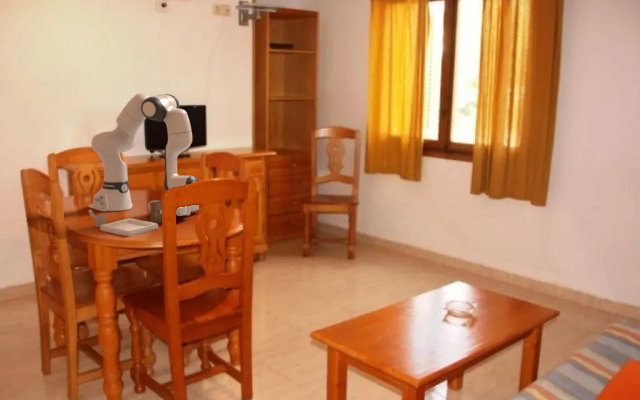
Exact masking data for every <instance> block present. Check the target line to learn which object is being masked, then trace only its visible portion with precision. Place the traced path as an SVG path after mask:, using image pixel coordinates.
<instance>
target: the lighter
mask: <svg viewBox="0 0 640 400" xmlns="http://www.w3.org/2000/svg"><path fill="white" fill-rule="evenodd" d="M87 212H88V213H89V215H90V217H91V218H92V219H93V220H94V219H95V227H96V228H101V227H100V225H103V224H107V217H106V216H105V214H102V213H101V214H97V216H96V215H95V213H94V212H93V210H92V208H90V209H89V210H87Z"/></svg>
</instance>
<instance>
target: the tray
mask: <svg viewBox="0 0 640 400" xmlns="http://www.w3.org/2000/svg"><path fill="white" fill-rule="evenodd" d="M99 228H100V231H101V232H106V233H112V234H116V235H120V236H124V237H129V238H130V237H134V236H137V235H142V234H145V233H148V232H149V233H150V232H152V230H153V231H156V230H159V224H157V223H152V222H150V221H146V220H141V219H134V218H129V217H128V218H125V219H121V220H120V219H119V220H116V221H113V222H112V221H111V222H106V224H103V225H100V227H99ZM155 229H156V230H155Z"/></svg>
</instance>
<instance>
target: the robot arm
mask: <svg viewBox="0 0 640 400" xmlns="http://www.w3.org/2000/svg"><path fill="white" fill-rule="evenodd" d="M146 119H148V120H152V121H156V122H160V123H161V122H164V123H165V124H166V128H167V129H166V130H167V144H166V145H165V147H164V179H163V188H164V190H165V192H166V190H168V189H170V188H173V187H179V186H184V185H187V184H191V183H194V182H198V181H199V180H198V178H197V177H196V176H194V175H179V174H178V157H179V155H180V153H182V152H184V151H187V149H189V148H190V147H191V144H192V143H193V132H192V126H191V122H190V119H189V116H188V112H187V111H186V110H185V109H183V108H180V102H179V99H178V98H177V97H176V96H174V95H173V94H169V93H164V94H157V95H153V96H149V95H147V94H146V93H137V94H135V95H134V96H133V97H132V98H131V99H130V100H129V101H128V102H127V103H126V104H125V106H124V107H123V108H122V110H121V112H120V113H119V115H117V117H116V124H117V125H116V127H115V129H113V130H110V131H102V132H100V133H97V134H95V135H94V136H92V139H91V147H92V148H91V149H92V150H93V151H94V152H95V153H96V154H97V155H98V157H99V158H100V160H101V163H102V167H103V177H104V178H103V179H104V180H103V181H101V182H100V184H101V185H102V187H101V189H100V190H98V191H97V192H96V193H95V194H94V196H93V203H90V204H88V208H90V209H93V210H97V211H100V212H118V211H127V210H131V209H132V208H133V206H134V204H133V203H132V197H131V192H130V189H129V187H130V185H129V184H130V183H129V179H128V165H127V164H126V162H124V161H123V160H122V158H121V153H123V152H124V153H125V152H128V151H129V150H132V149H133V148H134V147H135V146H136V143H137V140H136V134H137V132H138V130H139V129H140V127H141V126H142V125H143V124H144V122H145V120H146ZM147 209H148V211H149V212H150V202H148V203H147ZM198 210H200V209H199V205H191V206H185V207H179V208H177V210H176V215H177V216H178V217H181V216H190V215H191V213H193V212H195V211H198ZM158 213H159V214H162V209H160V210H158ZM177 216H176V217H177Z"/></svg>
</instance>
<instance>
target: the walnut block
mask: <svg viewBox="0 0 640 400" xmlns="http://www.w3.org/2000/svg"><path fill="white" fill-rule="evenodd" d="M162 201H163V200H158V199H156V200H155V199H154V200H151V201H149V203H150V211H149V217H150V220H149V222H152V223H159V224H162V223H161V222H162V214H159V213H158V210H160V209H162Z"/></svg>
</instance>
